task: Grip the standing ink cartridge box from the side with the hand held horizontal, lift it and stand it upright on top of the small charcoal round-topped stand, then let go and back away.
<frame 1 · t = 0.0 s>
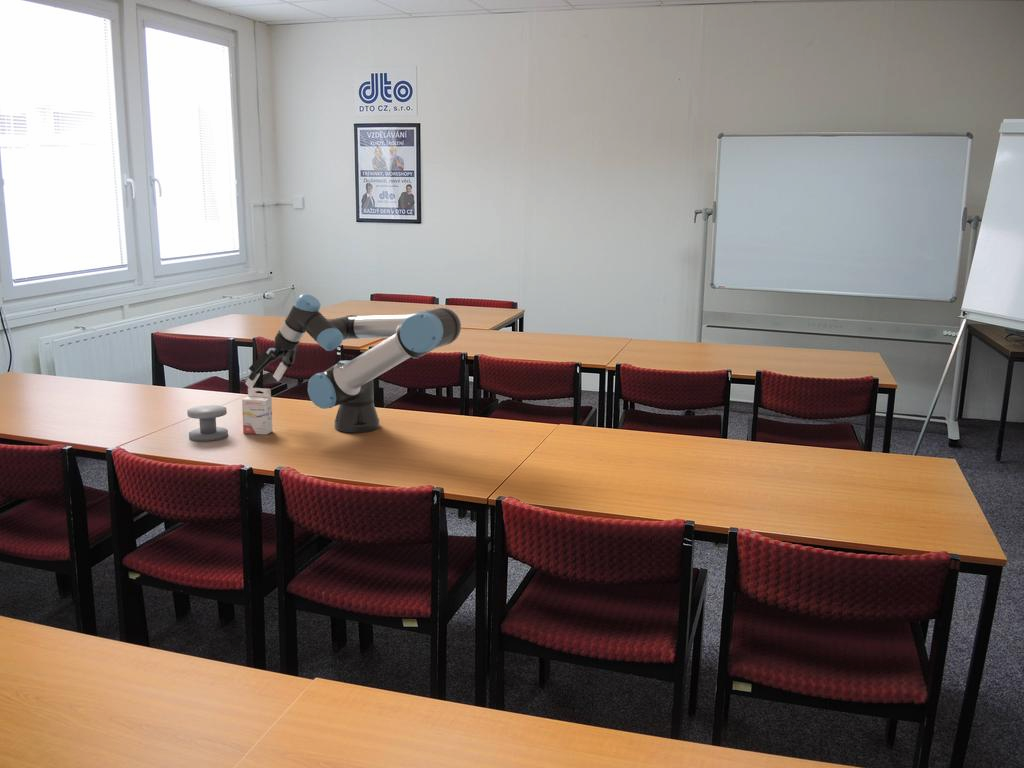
hand: (262, 382, 282), 15 cm above the table, tool tilted 35°, fingers open, 13 cm apart
ink cartridge box: (258, 433, 277), on the table, touching gripper
stand: (208, 436, 272), on the table
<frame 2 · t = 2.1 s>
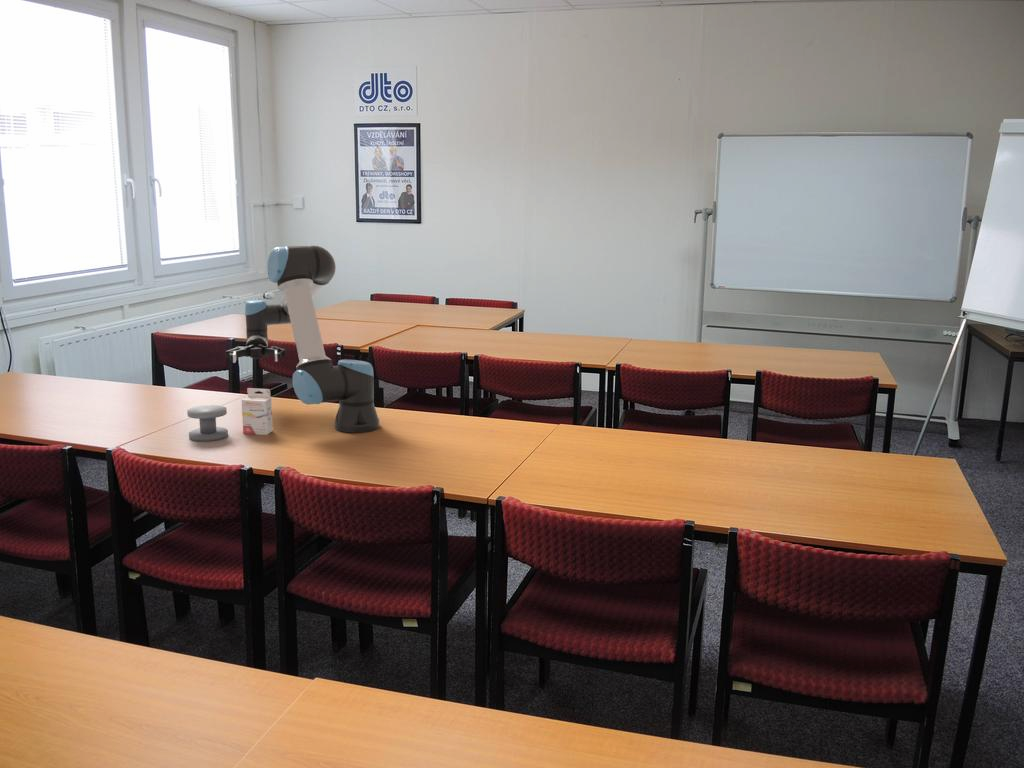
hand: (255, 358, 282), 23 cm above the table, tool horizontal, fingers open, 13 cm apart
ink cartridge box: (258, 433, 277), on the table
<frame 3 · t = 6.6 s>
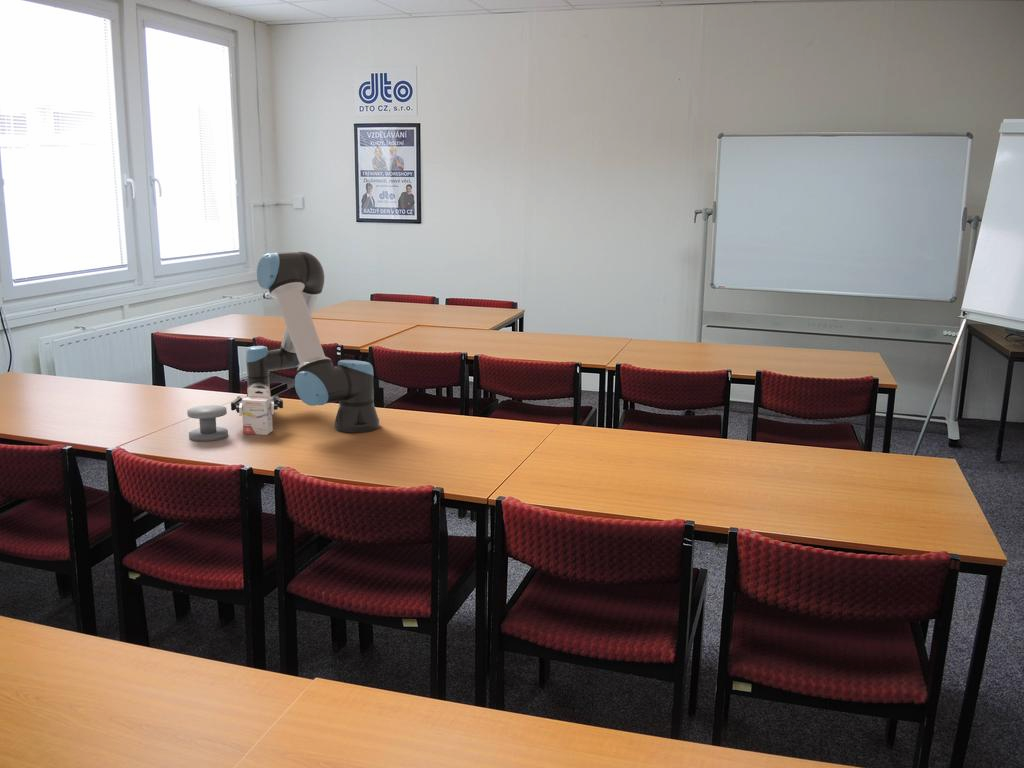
hand: (256, 410, 271), 9 cm above the table, tool horizontal, fingers closed on ink cartridge box, 9 cm apart
ink cartridge box: (258, 433, 277), on the table, touching gripper
when the fingers open (19 cm above the table, at t = 11.7 s): ink cartridge box drops 1 cm, resting on stand.
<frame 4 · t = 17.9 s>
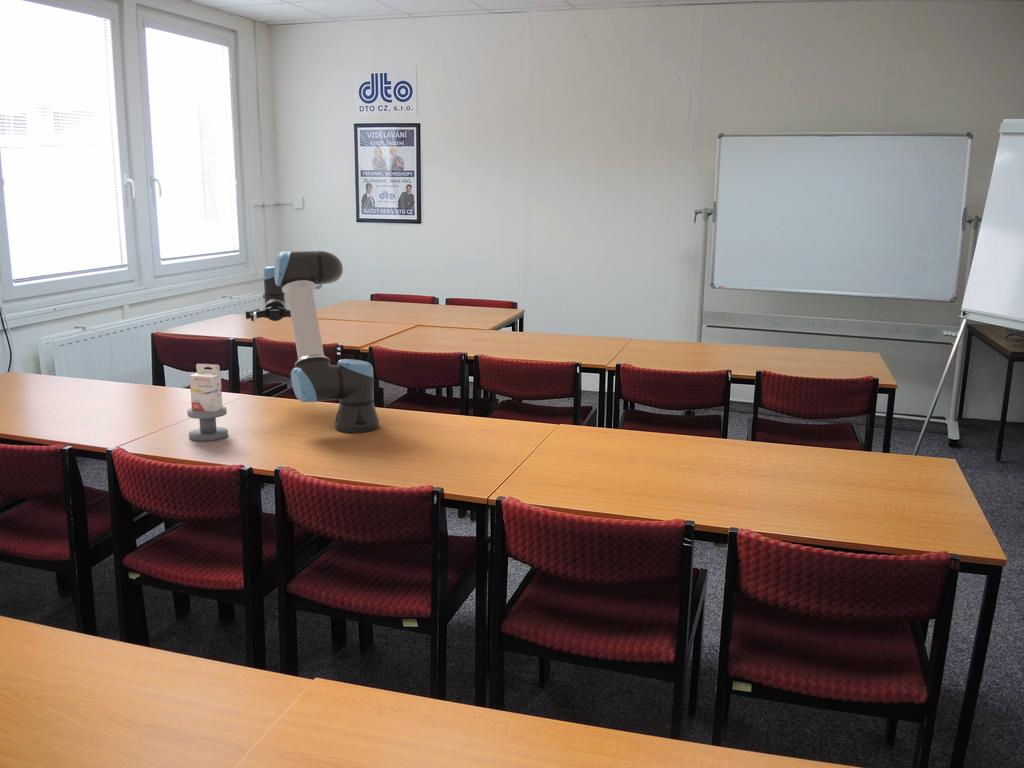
hand: (274, 317, 295), 35 cm above the table, tool horizontal, fingers open, 13 cm apart
ink cartridge box: (207, 410, 270), point 9 cm above the table, touching stand
at the end: ink cartridge box inside the target area on the stand (0.1 cm from its centre), point 8.8 cm above the stand's base; ink cartridge box tilted 0°; the gripper is holding nothing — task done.
